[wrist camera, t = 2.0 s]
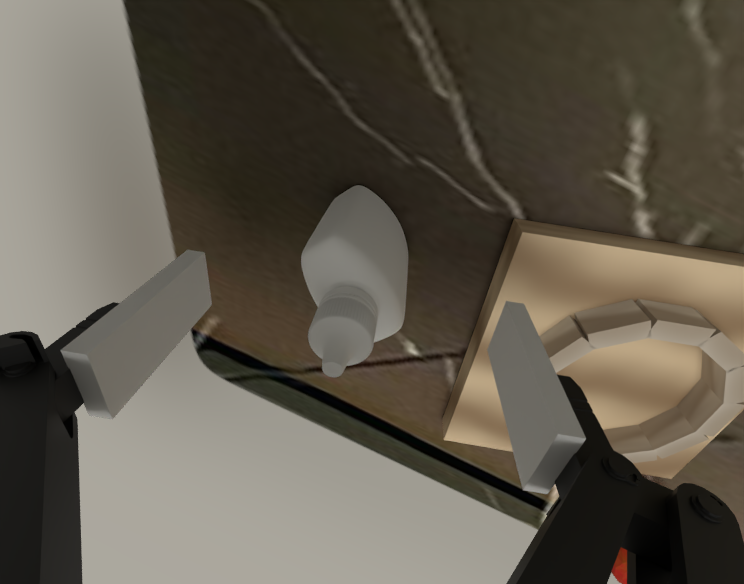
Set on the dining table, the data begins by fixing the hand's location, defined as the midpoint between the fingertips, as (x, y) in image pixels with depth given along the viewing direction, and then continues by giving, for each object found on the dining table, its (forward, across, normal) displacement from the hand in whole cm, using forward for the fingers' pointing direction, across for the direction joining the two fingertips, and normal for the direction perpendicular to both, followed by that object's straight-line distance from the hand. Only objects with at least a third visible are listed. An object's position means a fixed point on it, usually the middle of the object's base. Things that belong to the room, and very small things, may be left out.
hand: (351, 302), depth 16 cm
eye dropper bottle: (+8, 0, 0) cm, 8 cm away
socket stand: (+8, +17, -6) cm, 20 cm away
